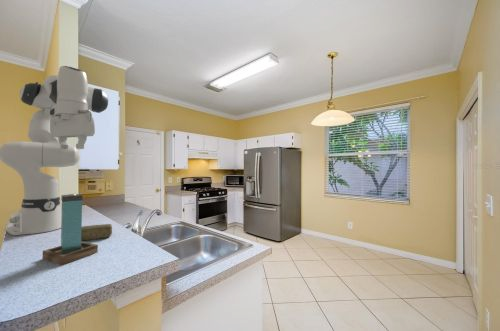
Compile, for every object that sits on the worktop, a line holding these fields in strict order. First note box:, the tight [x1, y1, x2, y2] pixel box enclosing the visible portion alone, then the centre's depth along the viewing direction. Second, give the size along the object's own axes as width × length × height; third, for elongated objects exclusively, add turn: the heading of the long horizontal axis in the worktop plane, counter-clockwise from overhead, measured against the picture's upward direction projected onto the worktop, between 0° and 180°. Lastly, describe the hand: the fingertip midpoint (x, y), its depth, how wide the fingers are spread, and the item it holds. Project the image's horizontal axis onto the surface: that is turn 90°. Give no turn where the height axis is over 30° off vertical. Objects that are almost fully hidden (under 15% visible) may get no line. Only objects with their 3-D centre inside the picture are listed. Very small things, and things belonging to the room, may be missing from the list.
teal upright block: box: [60, 193, 84, 254], centre depth 68 cm, size 5×5×18 cm
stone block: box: [81, 223, 113, 241], centre depth 85 cm, size 6×12×5 cm, turn 117°
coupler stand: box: [42, 240, 99, 266], centre depth 68 cm, size 10×10×2 cm
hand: (71, 149), depth 77 cm, fingers open, 8 cm apart
